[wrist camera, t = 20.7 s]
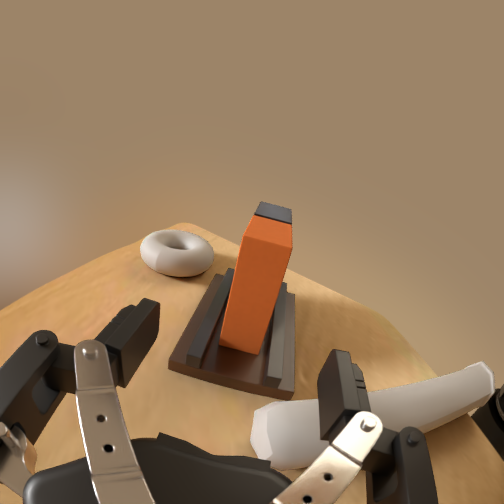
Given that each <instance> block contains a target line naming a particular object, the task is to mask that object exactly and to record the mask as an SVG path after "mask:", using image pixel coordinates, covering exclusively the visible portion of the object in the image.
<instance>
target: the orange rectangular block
mask: <svg viewBox="0 0 504 504" xmlns="http://www.w3.org/2000/svg"><path fill="white" fill-rule="evenodd" d="M291 252H292V225H290V224H286V223H282V222H279V221H275V220H271V219H267V218H263V217H259V216H255V215H253V217H252V219H251V221H250V223H249V225H248V227H247V229H246V231H245V233H244V234H243V238H242V242H241V246H240V250H239V255H238V259H237V263H236V268H235V272H234V277H233V281H232V285H231V290H230V294H229V299H228V303H227V308H226V312H225V317H224V321H223V326H222V331H221V335H220V340H219V345H221V346H225V347H229V348H232V349H236V350H240V351H244V352H248V353H252V354H256V355H258V354H259V352H260V349H261V346H262V343H263V340H264V337H265V334H266V331H267V328H268V325H269V322H270V319H271V316H272V313H273V310H274V306H275V303H276V300H277V297H278V294H279V291H280V288H281V284H282V281H283V278H284V275H285V272H286V268H287V265H288V262H289V258H290V255H291Z"/></svg>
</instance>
